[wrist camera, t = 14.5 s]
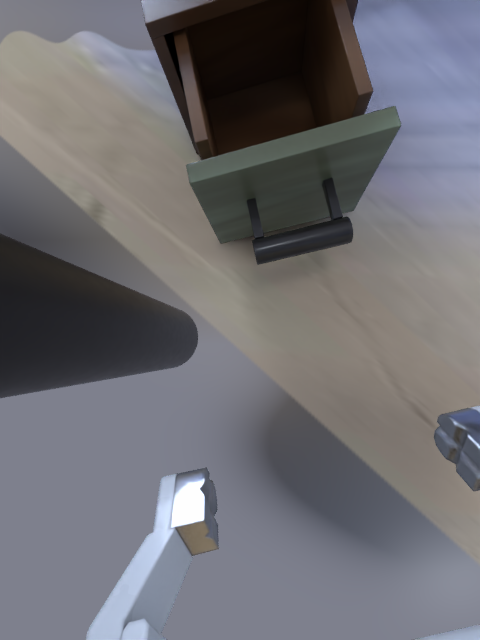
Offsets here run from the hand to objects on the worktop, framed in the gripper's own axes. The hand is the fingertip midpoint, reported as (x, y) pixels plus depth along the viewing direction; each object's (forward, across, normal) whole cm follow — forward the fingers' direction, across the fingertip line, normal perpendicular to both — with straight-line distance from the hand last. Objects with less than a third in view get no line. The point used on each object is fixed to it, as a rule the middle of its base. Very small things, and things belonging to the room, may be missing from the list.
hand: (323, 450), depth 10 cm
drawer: (+20, +4, +7) cm, 22 cm away
